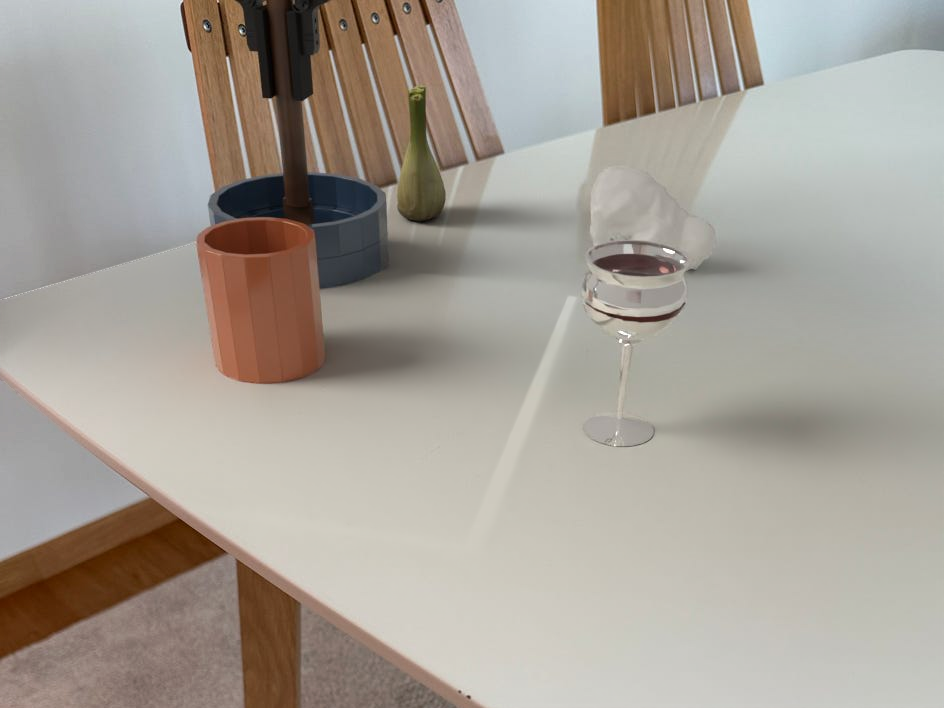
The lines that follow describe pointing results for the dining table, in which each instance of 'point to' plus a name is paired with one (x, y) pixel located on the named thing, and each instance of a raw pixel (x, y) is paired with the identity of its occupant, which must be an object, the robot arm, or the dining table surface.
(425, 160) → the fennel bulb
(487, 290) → the dining table surface
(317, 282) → the pot
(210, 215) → the bowl
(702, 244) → the lumpy white blob
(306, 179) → the stirring stick
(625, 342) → the wineglass
